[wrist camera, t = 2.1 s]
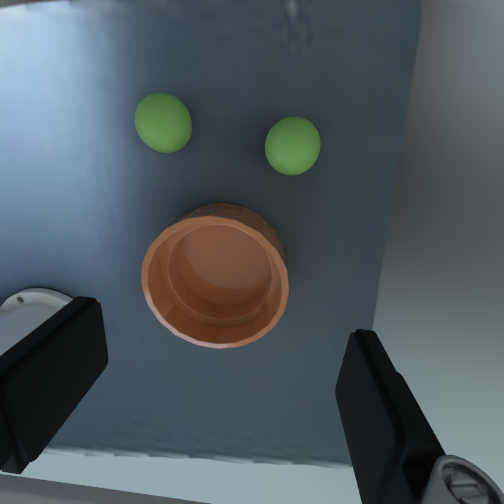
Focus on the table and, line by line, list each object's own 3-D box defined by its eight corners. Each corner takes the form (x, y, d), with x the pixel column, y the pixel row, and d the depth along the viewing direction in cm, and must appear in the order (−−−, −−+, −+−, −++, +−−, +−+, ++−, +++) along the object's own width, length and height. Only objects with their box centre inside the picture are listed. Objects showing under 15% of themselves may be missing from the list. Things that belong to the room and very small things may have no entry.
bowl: (163, 302, 32) (140, 334, 27) (168, 191, 27) (142, 203, 22) (272, 322, 32) (272, 359, 27) (298, 214, 27) (304, 232, 22)
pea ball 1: (148, 147, 26) (123, 147, 22) (149, 93, 24) (123, 82, 20) (195, 156, 26) (180, 158, 22) (200, 102, 24) (184, 93, 20)
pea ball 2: (261, 168, 26) (259, 172, 22) (270, 115, 24) (270, 108, 20) (309, 176, 26) (316, 182, 22) (321, 124, 24) (332, 119, 20)
